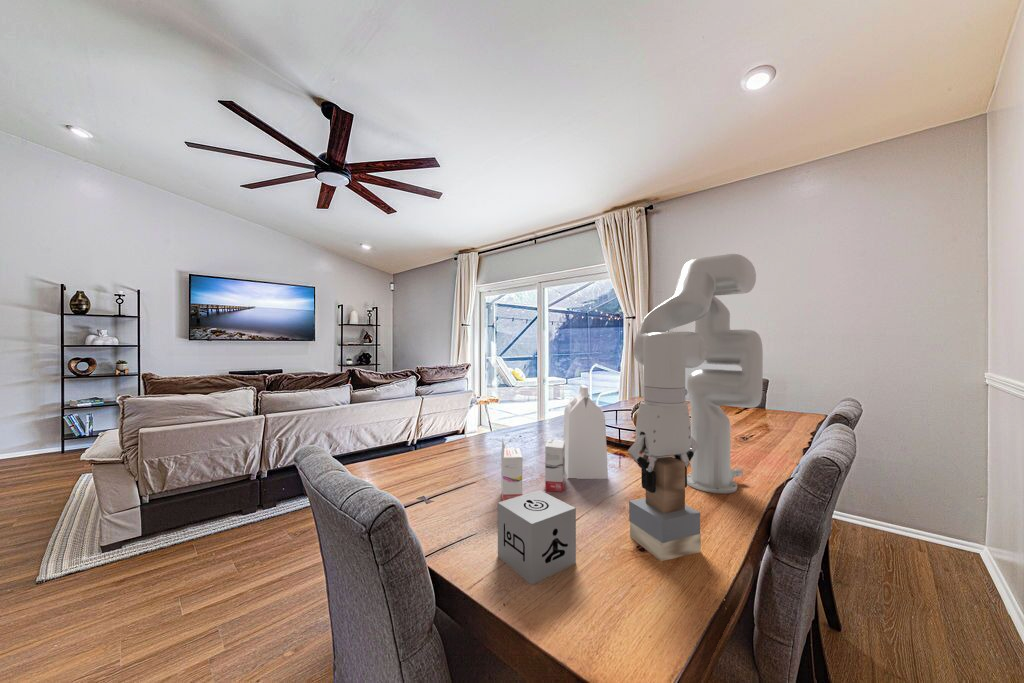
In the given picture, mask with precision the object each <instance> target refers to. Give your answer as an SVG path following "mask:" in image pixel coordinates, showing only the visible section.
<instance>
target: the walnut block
mask: <svg viewBox="0 0 1024 683" xmlns="http://www.w3.org/2000/svg"><path fill="white" fill-rule="evenodd" d="M649 458H650V457H648V459H647V462H648V461H649ZM652 471H654V472H655V473H656V491H655V493H651V492H649V491H647V490H646V489H645V498H646V503H647V504H649V505H650V506H652V507H654V508H655V509H657V510H659V511H660V512H662V513H669V512H675V511H680V510H685V505H686V488H685V462H683V461H681V460H678V459H676V458H674V457H673V456H664V457H657V460H656V462H655V465H654V468H653V470H652Z"/></svg>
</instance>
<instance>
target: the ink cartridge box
mask: <svg viewBox="0 0 1024 683" xmlns="http://www.w3.org/2000/svg"><path fill="white" fill-rule="evenodd" d="M504 439H505V438H504V437H502V440H501V452H500V453H501V461H500V462H501V463H500V464H501V469H500V470H501V472H500V473H501V475H500V476H501V480H500V482H501V485H500V486H501V488H500V490H501V492H500V494H501V499H502V501H505V500H508V499H511V498H515V497H518V496H521V495H523V458H524V457H523V454H522V452H521V449H520V447H509V448H506V447H505V446H506V445H505V444H506V443H505V440H504Z"/></svg>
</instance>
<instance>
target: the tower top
mask: <svg viewBox="0 0 1024 683" xmlns="http://www.w3.org/2000/svg"><path fill="white" fill-rule="evenodd" d="M628 504H629V505H628V507H629V508H628V512H629V513H628V515H629V516H628V518H629V519H628V521H629V523H630V522H632V523H633V524H635V525H636V526H638V527H639V528H641V529H642V530H644V531H645V532H646V533H648V534H649V535H651V536H652V537H654V538H655V539H657V540H658V541H660V542H661V543H665V542H669V541H673V540H677V539H681V538H685V537H689V536H693V535H697V534H701V511H698V510H696V509H695V508H692V507H690V506H688V505H687V504H685V510H680V511H675V512H669V513H662V512H660V511H659V510H657V509H655V508H654V507H652V506H650V505H649V504H647V503H646V497H644V498H642V497H641V498H638V499H637V498H636V499H632V500H628Z"/></svg>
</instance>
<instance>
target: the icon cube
mask: <svg viewBox="0 0 1024 683" xmlns="http://www.w3.org/2000/svg"><path fill="white" fill-rule="evenodd" d="M497 557H498V559H500V560H501V561H502V562H504V563H505V564H506V565H507V566H508V567H510V569H512V571H514V572H516V573H517V574H518V575H519V576H521V577H522V578H523V579H524V580H525V581H526V582H528V583H529V584H530V585H531V586H533V585H535V584H537V583H539V582H541V581H544V580H545V579H547V578H549V577H551V576H553V575H555V574H558V573H559V572H561V571H563V570H565V569H567V568H570V567H571V566H573V565H577V510H576V507H575V506H574V505H573V506H572V505H570V504H568V503H567V502H564V501H562V500H561V499H558V498H557V497H554V496H553V495H550V494H549V493H547V492H546V491H542V490H540V489H539V490H535V491H531V492H528V493H526V494H522V495H521V496H518V497H515V498H511V499H508V500H505V501H503V500H502V501H498V502H497Z"/></svg>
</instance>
